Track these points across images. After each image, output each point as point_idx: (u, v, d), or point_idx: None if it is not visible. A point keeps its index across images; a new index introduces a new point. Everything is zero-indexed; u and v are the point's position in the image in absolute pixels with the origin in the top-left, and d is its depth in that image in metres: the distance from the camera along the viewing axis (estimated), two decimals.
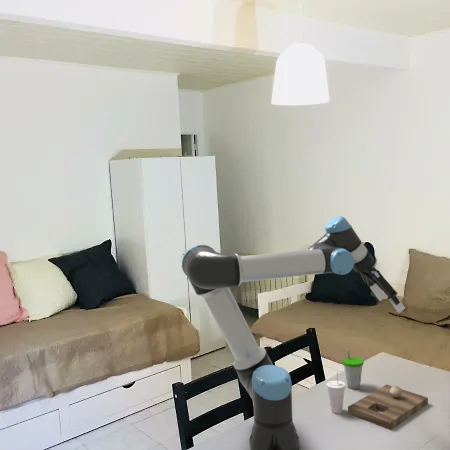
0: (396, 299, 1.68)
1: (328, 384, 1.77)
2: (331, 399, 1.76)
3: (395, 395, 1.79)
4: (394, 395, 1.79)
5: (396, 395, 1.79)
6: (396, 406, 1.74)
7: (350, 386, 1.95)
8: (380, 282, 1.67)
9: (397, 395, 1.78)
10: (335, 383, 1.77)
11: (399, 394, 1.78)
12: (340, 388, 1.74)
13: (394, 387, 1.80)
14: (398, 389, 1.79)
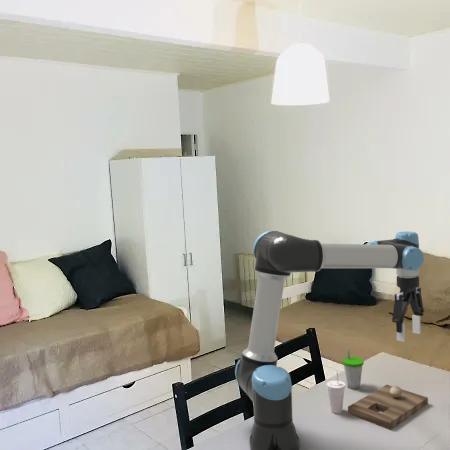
0: (398, 327, 1.79)
1: (328, 384, 1.77)
2: (331, 399, 1.76)
3: (395, 395, 1.79)
4: (394, 395, 1.79)
5: (396, 395, 1.79)
6: (396, 406, 1.74)
7: (350, 386, 1.95)
8: (395, 304, 1.79)
9: (397, 395, 1.78)
10: (335, 383, 1.77)
11: (399, 394, 1.78)
12: (340, 388, 1.74)
13: (394, 387, 1.80)
14: (398, 389, 1.79)
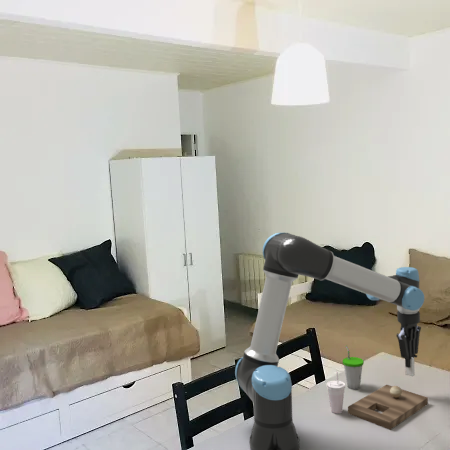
0: (407, 362, 1.84)
1: (328, 384, 1.77)
2: (331, 399, 1.76)
3: (395, 395, 1.79)
4: (394, 395, 1.79)
5: (396, 395, 1.79)
6: (396, 406, 1.74)
7: (350, 386, 1.95)
8: (400, 343, 1.82)
9: (397, 395, 1.78)
10: (335, 383, 1.77)
11: (399, 394, 1.78)
12: (340, 388, 1.74)
13: (394, 387, 1.80)
14: (398, 389, 1.79)
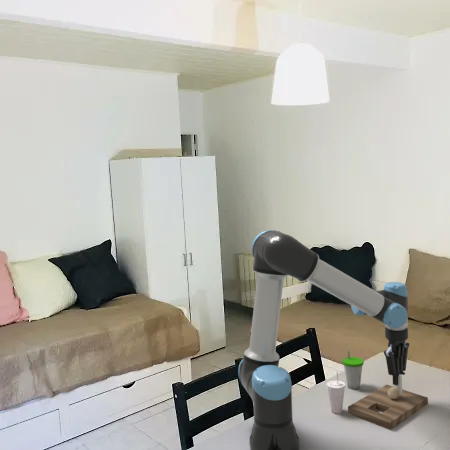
0: (395, 380, 1.79)
1: (328, 384, 1.77)
2: (331, 399, 1.76)
3: (394, 398, 1.78)
4: (393, 398, 1.78)
5: (395, 398, 1.78)
6: (396, 406, 1.74)
7: (350, 386, 1.95)
8: (387, 360, 1.77)
9: (396, 398, 1.78)
10: (335, 383, 1.77)
11: (397, 396, 1.78)
12: (340, 388, 1.74)
13: (390, 392, 1.78)
14: (395, 393, 1.77)
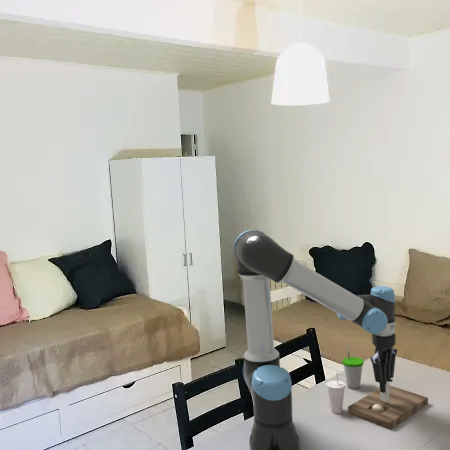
0: (382, 387, 1.74)
1: (328, 384, 1.77)
2: (331, 399, 1.76)
3: (377, 409, 1.71)
4: (375, 410, 1.71)
5: (378, 410, 1.71)
6: (396, 406, 1.74)
7: (350, 386, 1.95)
8: (374, 367, 1.72)
9: (378, 411, 1.71)
10: (335, 383, 1.77)
11: (381, 411, 1.71)
12: (340, 388, 1.74)
13: (378, 404, 1.73)
14: (381, 406, 1.72)
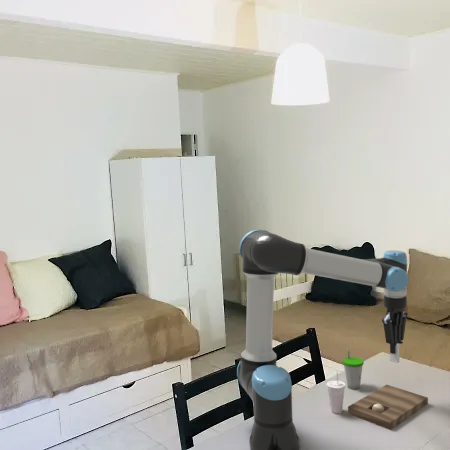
0: (392, 348, 1.79)
1: (328, 384, 1.77)
2: (331, 399, 1.76)
3: (377, 408, 1.71)
4: (376, 409, 1.72)
5: (378, 409, 1.71)
6: (396, 406, 1.74)
7: (350, 386, 1.95)
8: (385, 328, 1.77)
9: (379, 410, 1.71)
10: (335, 383, 1.77)
11: (381, 410, 1.71)
12: (340, 388, 1.74)
13: (379, 404, 1.74)
14: (382, 406, 1.73)
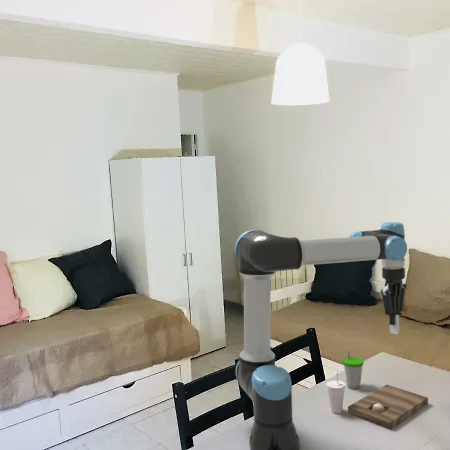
0: (391, 320, 1.80)
1: (328, 384, 1.77)
2: (331, 399, 1.76)
3: (378, 408, 1.72)
4: (376, 408, 1.72)
5: (379, 409, 1.71)
6: (396, 406, 1.74)
7: (350, 386, 1.95)
8: (384, 299, 1.77)
9: (379, 409, 1.71)
10: (335, 383, 1.77)
11: (382, 410, 1.71)
12: (340, 388, 1.74)
13: None
14: None
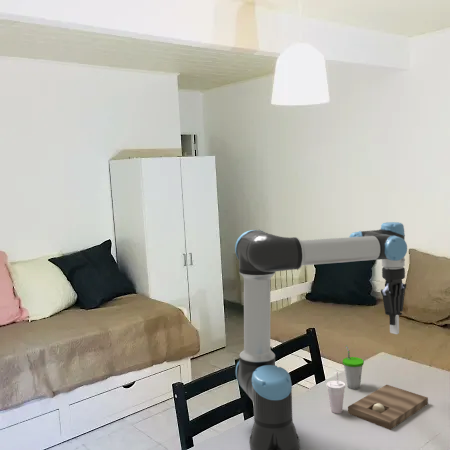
0: (391, 320, 1.80)
1: (328, 384, 1.77)
2: (331, 399, 1.76)
3: (378, 407, 1.72)
4: (377, 408, 1.72)
5: (379, 408, 1.72)
6: (396, 406, 1.74)
7: (350, 386, 1.95)
8: (384, 299, 1.77)
9: (380, 409, 1.72)
10: (335, 383, 1.77)
11: (382, 410, 1.72)
12: (340, 388, 1.74)
13: None
14: (383, 406, 1.73)
